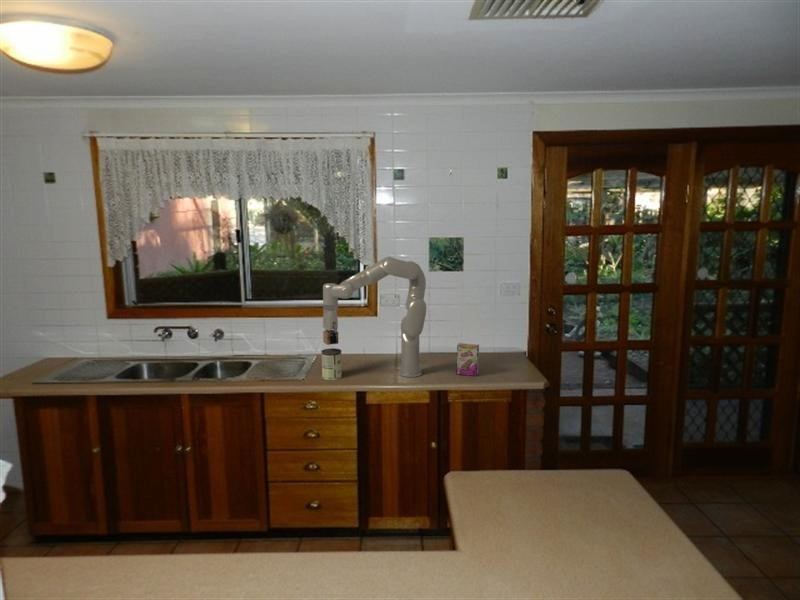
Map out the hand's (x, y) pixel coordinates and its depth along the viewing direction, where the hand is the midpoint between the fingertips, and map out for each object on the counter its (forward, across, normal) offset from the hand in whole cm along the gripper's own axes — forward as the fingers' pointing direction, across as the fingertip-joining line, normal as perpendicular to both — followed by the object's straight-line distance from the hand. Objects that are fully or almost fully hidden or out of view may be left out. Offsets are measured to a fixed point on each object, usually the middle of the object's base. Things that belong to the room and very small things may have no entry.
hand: (330, 341), depth 263 cm
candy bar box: (+19, +29, +66) cm, 74 cm away
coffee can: (+19, 0, 0) cm, 19 cm away
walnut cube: (+1, 0, 0) cm, 1 cm away
